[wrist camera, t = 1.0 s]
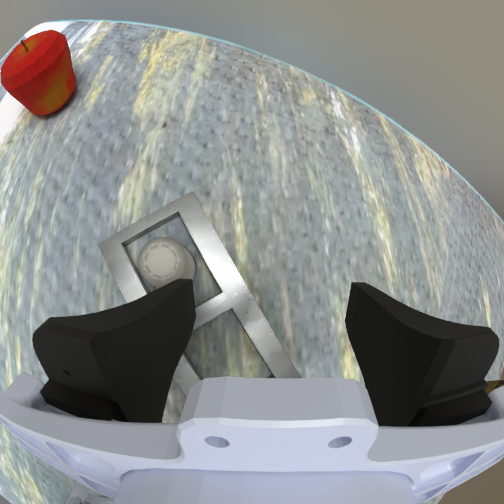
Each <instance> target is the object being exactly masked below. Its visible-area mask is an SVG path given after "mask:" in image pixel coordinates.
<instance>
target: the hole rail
mask: <svg viewBox="0 0 504 504" xmlns="http://www.w3.org/2000/svg"><path fill="white" fill-rule="evenodd" d="M177 216H180V218H181V220H182V222H183V223H184V225H185V227H186V229H187V231H188V233H189V235H190V236H191V238H192V240H193V242H194V244H195V246H196V247H197V249H198V251H199V253H200V255H201V256H202V258H203V260H204V262H205V264H206V265H207V267H208V269H209V271H210V272H211V274H212V276H213V278H214V279H215V281H216V283H217V285H218V286H219V288H220V290H221V291H222V292H221V293H219V294H217V295H216V296H214V297H212V298H211V299H209V300H207V301H205V302H204V303H202V304H200V305H198V306H197V307H195V311H196V320H195V324H194V327H193V330H194V329H196V328H198V327H200V326H201V325H203V324H205V323H207V322H208V321H210V320H212V319H214V318H215V317H217V316H219V315H220V314H222V313H224V312H226V311H227V310H229V309H231V308H232V310H233V312H234V313H235V315H236V317H237V318H238V320H239V322H240V323H241V325H242V327H243V328H244V330H245V332H246V333H247V335H248V337H249V338H250V340H251V341H252V343H253V345H254V346H255V348H256V349H257V351H258V353H259V354H260V356H261V357H262V359H263V361H264V362H265V364H266V365H267V367H268V368H269V370H270V372H271V373H272V376H271V377H269V378H301V377H300V375H299V373H298V372H297V370H296V368H295V367H294V365H293V363H292V362H291V360H290V358H289V357H288V355H287V353H286V352H285V350H284V348H283V347H282V345H281V343H280V342H279V340H278V338H277V337H276V335H275V333H274V332H273V330H272V328H271V327H270V325H269V323H268V322H267V320H266V318H265V317H264V315H263V313H262V311H261V310H260V308H259V306H258V305H257V303H256V301H255V299H254V298H253V296H252V294H251V293H250V291H249V289H248V287H247V286H246V284H245V282H244V281H243V279H242V277H241V275H240V274H239V272H238V270H237V268H236V267H235V265H234V263H233V261H232V260H231V258H230V256H229V254H228V253H227V251H226V249H225V247H224V246H223V244H222V242H221V240H220V238H219V237H218V235H217V233H216V231H215V230H214V228H213V226H212V224H211V222H210V221H209V219H208V217H207V215H206V213H205V212H204V210H203V208H202V206H201V204H200V203H199V201H198V199H197V197H196V195H195V194H194V192H191V193H189V194H187V195H185V196H183V197H181V198H179V199H177V200H175V201H174V202H172V203H170V204H168V205H166V206H164V207H162V208H160V209H159V210H157V211H155V212H153V213H151V214H149V215H148V216H146V217H144V218H142V219H141V220H139V221H137V222H135V223H134V224H132V225H130V226H128V227H127V228H125V229H123V230H121V231H120V232H118V233H116V234H115V235H113V236H111V237H110V238H108V239H107V240H105V241H103V242H102V243H100V244H98V245H99V247H100V250H101V252H102V254H103V256H104V259H105V261H106V263H107V265H108V267H109V269H110V271H111V273H112V276H113V278H114V280H115V282H116V284H117V286H118V288H119V290H120V291H121V293H122V295H123V297H124V299H125V301H126V303H129V302H132V301H134V300H136V299H138V298H140V297H142V296H144V295H147V294H149V291H148V290H147V288H146V286H145V284H144V282H143V280H142V278H141V276H140V274H139V273H138V271H137V269H136V267H135V265H134V263H133V261H132V259H131V257H130V255H129V253H128V251H127V248H126V245H128V244H129V243H131V242H133V241H134V240H136V239H138V238H140V237H141V236H143V235H145V234H147V233H148V232H150V231H152V230H154V229H156V228H157V227H159V226H161V225H163V224H165V223H166V222H168V221H170V220H172V219H174V218H176V217H177ZM173 379H174V381H175V382H176V384H177V385H178V386H179V388H180V389H181V391H182V392H183V393H184V395H185V396H186V397H187V396H188V393H189V390H190V387H192V386H194V385H195V384H197V383H198V382H200V381H201V380H203V379H202V377H201V376H200V374H199V373H198V372H197V370H196V369H195V367H194V366H193V364H192V363H191V361H190V360H189V358H188V357H187V355H186V354H185V352H183V354H182V357H181V359H180V361H179V363H178V365H177V368H176V370H175V373H174V375H173Z"/></svg>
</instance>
